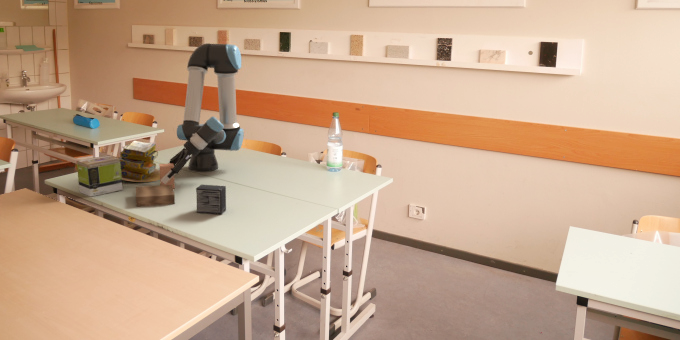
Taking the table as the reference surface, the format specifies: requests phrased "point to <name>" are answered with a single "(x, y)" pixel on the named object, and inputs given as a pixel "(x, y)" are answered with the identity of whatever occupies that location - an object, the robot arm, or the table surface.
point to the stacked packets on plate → (139, 162)
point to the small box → (211, 199)
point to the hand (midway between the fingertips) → (161, 178)
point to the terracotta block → (164, 170)
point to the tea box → (99, 175)
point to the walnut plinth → (155, 195)
